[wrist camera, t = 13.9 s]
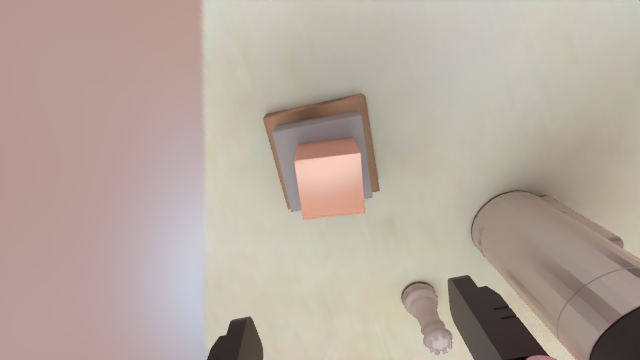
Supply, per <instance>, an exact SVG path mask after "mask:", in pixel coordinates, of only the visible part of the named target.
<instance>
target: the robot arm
mask: <svg viewBox="0 0 640 360" xmlns="http://www.w3.org/2000/svg"><path fill="white" fill-rule="evenodd" d="M472 238H473V241H474V244H475V246H476V247H477V248H478V249H479V250H480V252H481V253H482V254H483V256H484V257H486V258H487V260H488V261H489V262H490V263H491V264H492V265H493V266H494V268H495V269H496V270H497V271H498V272H499V273H500V275H501V276H502V277H503V278H504V279H505V280H506V281H507V283H508V284H509V285H510V286H511V287H512V288H513V289H514V290H515V292H516V293H517V294H518V295H519V296H520V297H521V298H522V300H523V301H524V302H525V303H526V304H527V305H528V306H529V307H530V309H531V310H532V311H533V312H534V313H535V314H536V315H537V317H538V318H539V319H540V320H541V321H542V322H543V323H544V324H545V326H546V327H547V328H548V329H549V330H550V331H551V332H552V334H553V335H554V336H555V337H556V338H557V339H558V340H559V341H560V343H561V344H562V345H563V346H564V347H565V348H566V349H567V350H568V352H569V353H570V354H571V355H572V356H573V357H574V358H575V359H576V360H640V259H639V258H637V257H636V256H634V255H632V254H631V253H629V252H627V251H626V250H624V249H623V241H622V239H621V238H620V237H618V236H616V235H615V234H613V233H611V232H609V231H608V230H606V229H604V228H603V227H601V226H599V225H597V224H596V223H594V222H592V221H590V220H589V219H587V218H585V217H584V216H582V215H580V214H578V213H577V212H575V211H573V210H571V209H570V208H568V207H566V206H565V205H563V204H561V203H559V202H558V201H556V200H554V199H552V198H551V197H549V196H544V197H538V196H536V195H534V194H532V193H528V192H523V191H514V192H509V193H505V194H503V195H500V196H498V197H496V198H494V199H493V200H491V201H490V202H488V203H487V204H486V205H485V206H484V207H483V208H482V209H481V210H480V211H479V213H478V214H477V216H476V218H475V220H474V223H473V226H472ZM448 291H449V303H450V311H451V315H452V318H453V321H454V323H455V325H456V327H457V329H458V331H459V333H460V334H461V336H462V338H463V340H464V342H465V344H466V345H467V347H468V349H469V351H470V353H471V355H472V356H473V358H474V360H557V359H554V358H552V357H550V356H549V355H548V354H547V353H546V352H545V350H544V349H543V348H542V347H541V345H540V344H539V343H538V342H537V340H536V339H535V338H534V337H533V335H532V334H531V333H530V332H529V330H528V329H527V328H526V327H525V325H524V324H523V323H522V322H521V320H520V319H519V318H518V317H516V314H515V313H514V312H513V311H512V309H511V308H509V306H508V304H507V303H506V302H505V301H504V299H503V298H502V297H501V296H500V294H498V293H497V292H495V291H493V290H492V289H490V288H489V287H487V286H484V287H479V288H478V287H477V285H476V284H475V283H474V281H473V280H472V279H471V277H470V276H468V275H465V276H460V277H454V278H449V279H448ZM207 360H263V347H262V343H261V340H260V338H259V335H258V332H257V330H256V327H255V325H254V322H253V320H252V318H251V317H245V318H240V319H234V320H232V321H231V322H230V324H229V328H228V331H227V334H226V335H224V336H220V337H219V338H218V339H217V341H216V342H215V344H214V345H213V346H212V348H211V350H210V353H209V356H208V359H207Z"/></svg>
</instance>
